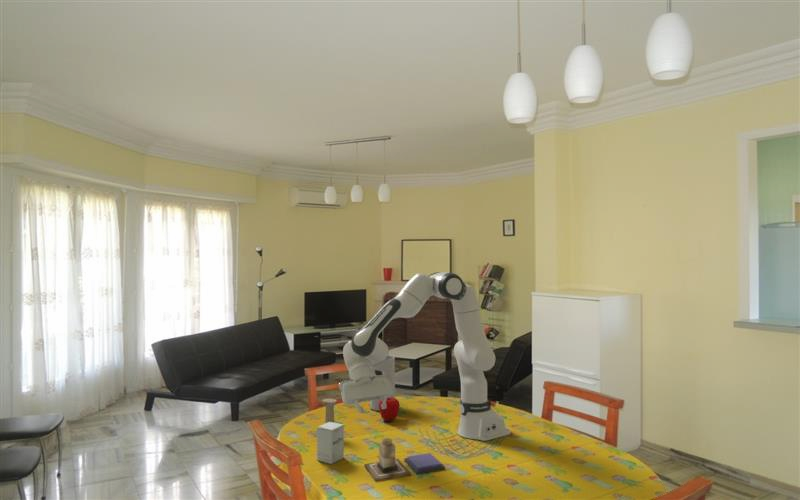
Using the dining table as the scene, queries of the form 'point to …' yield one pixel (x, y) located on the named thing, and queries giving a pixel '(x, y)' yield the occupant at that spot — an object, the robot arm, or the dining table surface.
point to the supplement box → (330, 442)
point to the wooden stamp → (387, 456)
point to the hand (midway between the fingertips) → (373, 410)
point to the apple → (389, 409)
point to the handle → (329, 409)
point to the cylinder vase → (389, 371)
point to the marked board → (379, 475)
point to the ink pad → (424, 463)
